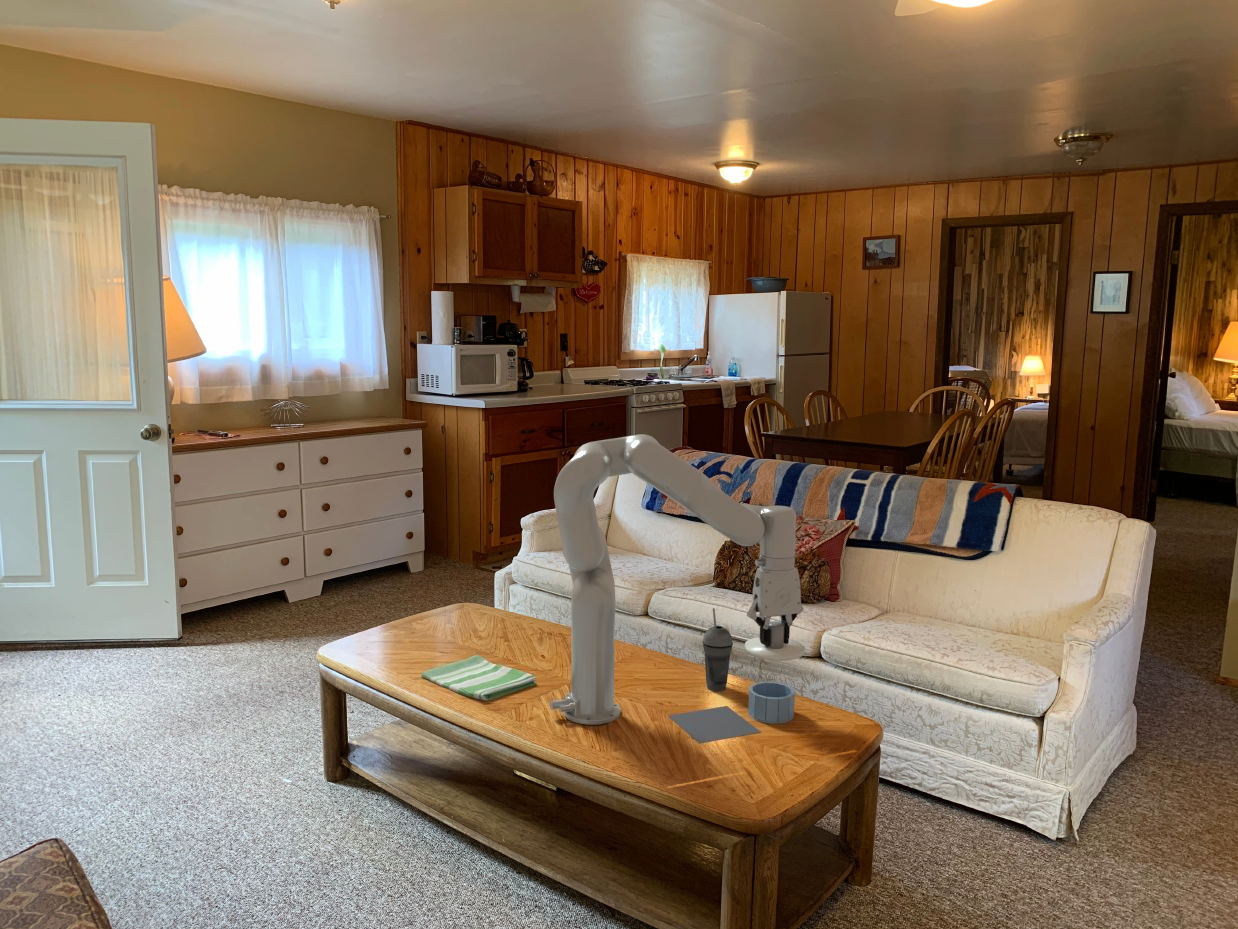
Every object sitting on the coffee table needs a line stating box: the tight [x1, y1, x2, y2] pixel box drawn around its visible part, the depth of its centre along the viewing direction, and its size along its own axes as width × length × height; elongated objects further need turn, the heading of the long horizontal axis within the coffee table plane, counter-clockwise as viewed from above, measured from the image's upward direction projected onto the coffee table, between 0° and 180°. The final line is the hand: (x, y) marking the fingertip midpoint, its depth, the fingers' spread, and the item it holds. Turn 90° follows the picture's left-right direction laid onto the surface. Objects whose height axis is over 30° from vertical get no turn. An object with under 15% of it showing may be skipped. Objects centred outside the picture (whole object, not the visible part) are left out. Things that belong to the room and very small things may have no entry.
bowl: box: [747, 680, 796, 725], centre depth 207 cm, size 10×10×6 cm
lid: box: [744, 620, 805, 662], centre depth 205 cm, size 13×13×6 cm
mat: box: [667, 705, 762, 744], centre depth 202 cm, size 15×15×1 cm
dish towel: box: [420, 654, 538, 702], centre depth 226 cm, size 18×23×3 cm
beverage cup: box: [702, 607, 734, 692], centre depth 221 cm, size 7×7×20 cm
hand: (774, 642), depth 205 cm, fingers closed on lid, 4 cm apart
